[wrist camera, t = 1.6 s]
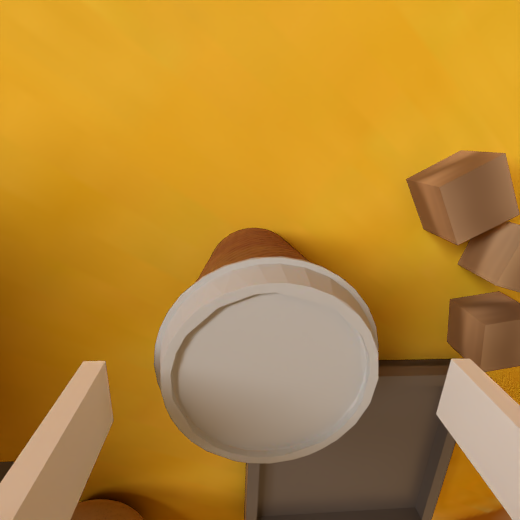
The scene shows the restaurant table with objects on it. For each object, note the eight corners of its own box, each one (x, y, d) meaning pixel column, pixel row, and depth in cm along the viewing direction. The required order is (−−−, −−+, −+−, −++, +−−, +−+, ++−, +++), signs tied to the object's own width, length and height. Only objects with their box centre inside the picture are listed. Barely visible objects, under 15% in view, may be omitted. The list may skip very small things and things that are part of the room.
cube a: (446, 341, 28) (479, 372, 24) (449, 298, 27) (485, 325, 23) (492, 333, 28) (532, 363, 25) (498, 290, 27) (541, 315, 23)
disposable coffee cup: (343, 270, 25) (435, 380, 14) (249, 349, 27) (263, 503, 15) (257, 174, 22) (284, 212, 11) (157, 268, 24) (92, 386, 13)
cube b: (456, 263, 26) (495, 285, 22) (482, 213, 25) (528, 227, 21) (500, 276, 26) (544, 299, 23) (527, 228, 25) (579, 244, 21)
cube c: (422, 228, 25) (457, 245, 21) (405, 179, 23) (439, 187, 19) (474, 202, 24) (519, 214, 20) (460, 150, 23) (505, 153, 19)
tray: (244, 515, 33) (244, 538, 31) (249, 362, 27) (251, 379, 25) (418, 505, 35) (429, 526, 33) (460, 359, 29) (476, 374, 27)
